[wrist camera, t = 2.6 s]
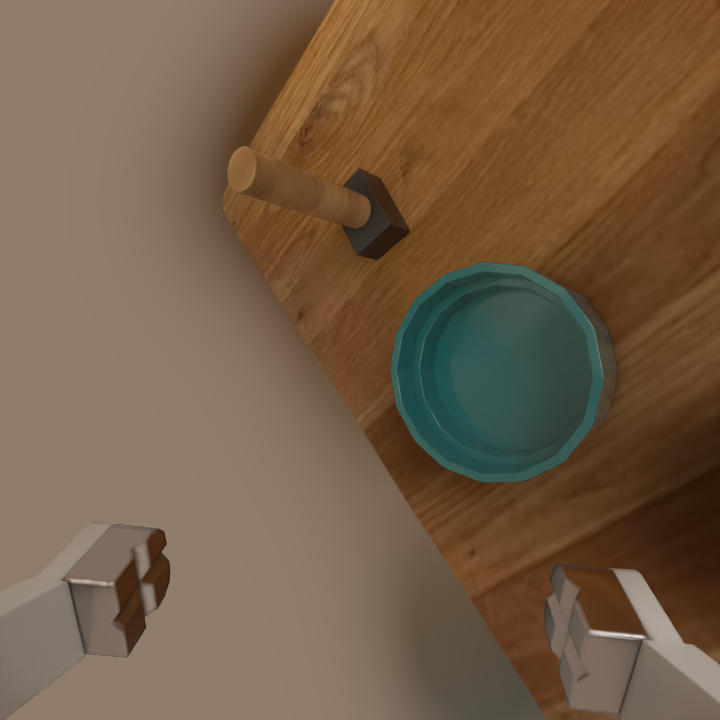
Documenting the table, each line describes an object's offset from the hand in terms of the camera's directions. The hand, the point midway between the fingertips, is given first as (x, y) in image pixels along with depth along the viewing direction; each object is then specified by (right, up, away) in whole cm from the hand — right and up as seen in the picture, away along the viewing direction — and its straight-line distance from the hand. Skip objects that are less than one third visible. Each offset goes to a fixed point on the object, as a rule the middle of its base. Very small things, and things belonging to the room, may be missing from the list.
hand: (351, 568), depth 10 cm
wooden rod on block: (+2, +17, +31) cm, 36 cm away
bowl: (+11, +4, +25) cm, 27 cm away
